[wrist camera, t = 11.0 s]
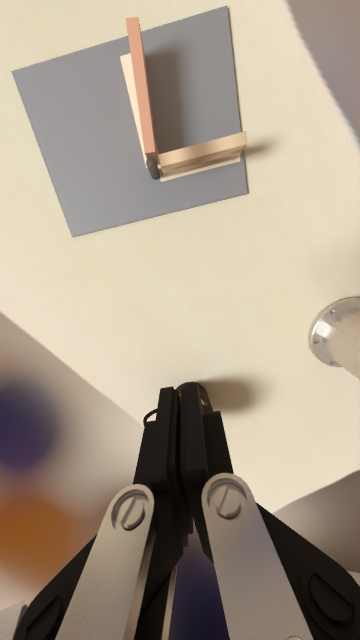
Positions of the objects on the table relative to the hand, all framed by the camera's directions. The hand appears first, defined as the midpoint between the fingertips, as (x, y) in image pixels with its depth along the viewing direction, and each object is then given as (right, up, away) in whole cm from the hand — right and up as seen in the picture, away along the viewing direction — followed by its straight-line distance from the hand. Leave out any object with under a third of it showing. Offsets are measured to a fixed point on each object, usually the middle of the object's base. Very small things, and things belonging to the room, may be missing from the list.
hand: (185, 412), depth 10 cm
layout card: (-6, +28, +19) cm, 34 cm away
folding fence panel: (-4, +30, +18) cm, 35 cm away
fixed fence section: (+2, +25, +20) cm, 33 cm away
